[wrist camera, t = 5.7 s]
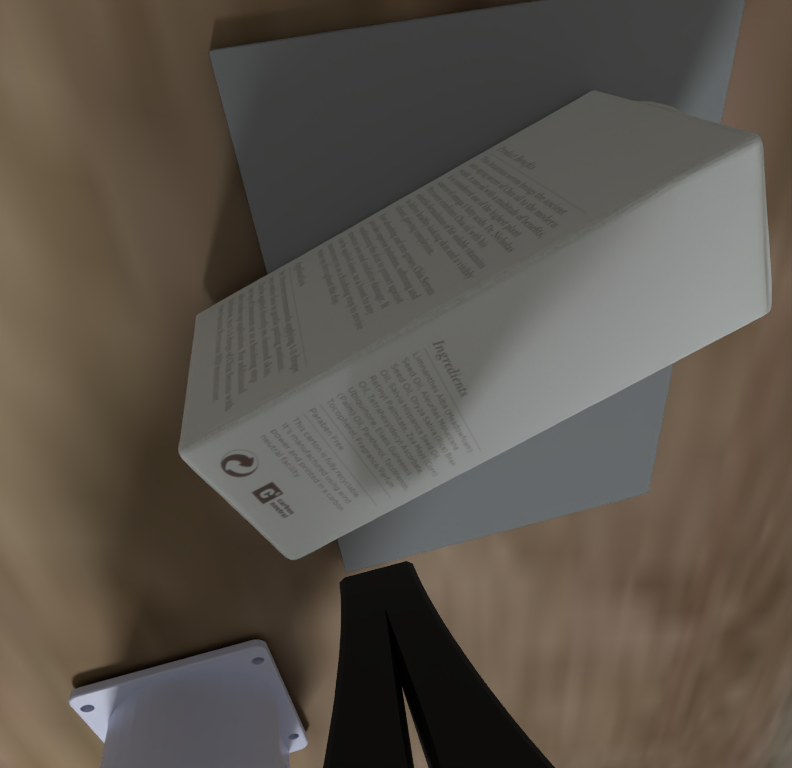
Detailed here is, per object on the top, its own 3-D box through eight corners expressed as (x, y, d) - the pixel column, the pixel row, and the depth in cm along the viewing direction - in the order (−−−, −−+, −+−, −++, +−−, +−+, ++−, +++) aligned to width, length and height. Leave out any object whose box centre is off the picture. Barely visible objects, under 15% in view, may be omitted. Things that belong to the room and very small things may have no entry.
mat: (641, 484, 25) (648, 492, 24) (344, 562, 23) (346, 572, 23) (736, -30, 14) (751, -31, 14) (209, 49, 13) (208, 51, 12)
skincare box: (291, 571, 13) (783, 318, 12) (167, 456, 11) (773, 124, 10) (278, 413, 18) (627, 223, 17) (191, 310, 16) (594, 79, 14)
